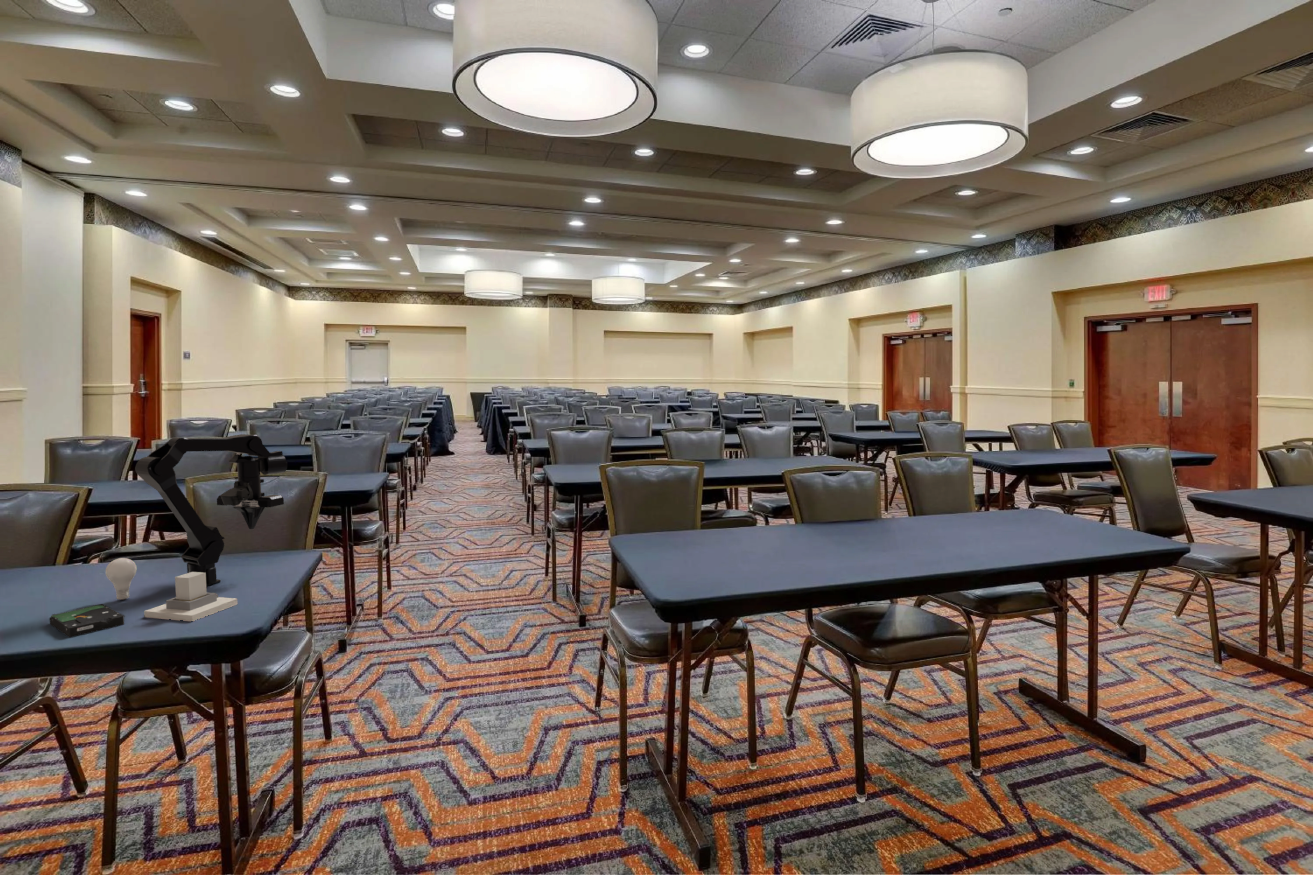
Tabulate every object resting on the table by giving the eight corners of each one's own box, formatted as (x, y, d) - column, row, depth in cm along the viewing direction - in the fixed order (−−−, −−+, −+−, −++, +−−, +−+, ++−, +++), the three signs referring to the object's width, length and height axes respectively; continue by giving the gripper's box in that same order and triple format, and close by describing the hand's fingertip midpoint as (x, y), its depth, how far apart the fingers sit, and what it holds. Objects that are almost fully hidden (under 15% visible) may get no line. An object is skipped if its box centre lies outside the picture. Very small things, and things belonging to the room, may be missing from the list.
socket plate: (144, 617, 165) (143, 602, 164) (192, 600, 177) (191, 587, 177) (192, 621, 162) (191, 607, 161) (237, 604, 174) (236, 590, 174)
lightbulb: (144, 597, 180) (141, 556, 179) (118, 604, 174) (115, 562, 173) (127, 595, 182) (125, 554, 181) (101, 602, 176) (98, 560, 175)
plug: (176, 607, 167) (174, 577, 167) (193, 601, 172) (192, 571, 172) (190, 608, 167) (188, 577, 166) (207, 602, 171) (205, 572, 171)
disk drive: (125, 626, 160) (102, 613, 169) (125, 615, 160) (102, 602, 168) (69, 640, 152) (48, 625, 160) (68, 627, 151) (47, 614, 160)
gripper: (199, 479, 196) (202, 533, 198) (254, 481, 192) (256, 536, 193) (231, 474, 207) (233, 525, 208) (284, 476, 203) (286, 528, 204)
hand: (251, 528), depth 203 cm, fingers closed
